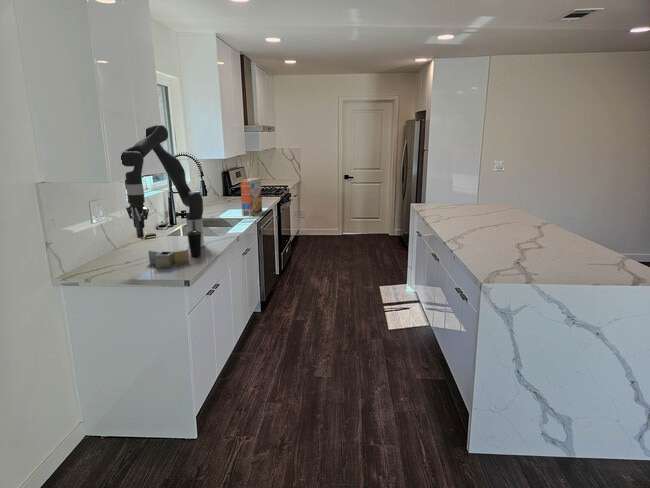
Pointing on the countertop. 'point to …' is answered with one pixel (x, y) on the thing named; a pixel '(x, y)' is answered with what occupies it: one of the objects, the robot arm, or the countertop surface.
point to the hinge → (168, 258)
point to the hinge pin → (138, 226)
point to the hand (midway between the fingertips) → (139, 227)
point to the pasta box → (251, 196)
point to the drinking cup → (195, 242)
